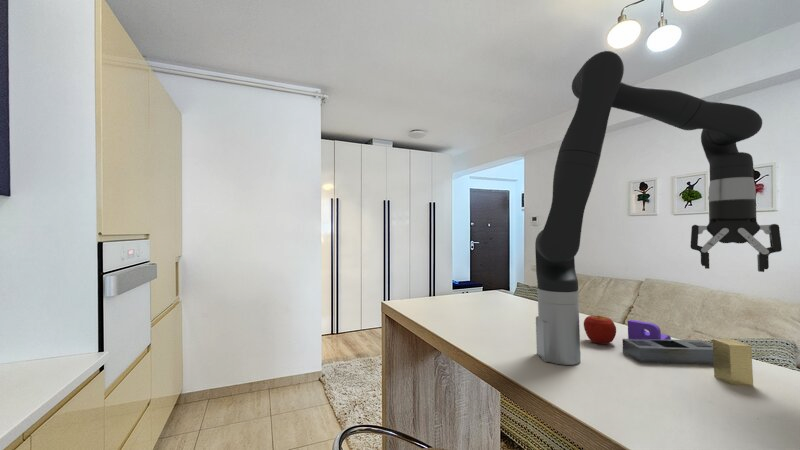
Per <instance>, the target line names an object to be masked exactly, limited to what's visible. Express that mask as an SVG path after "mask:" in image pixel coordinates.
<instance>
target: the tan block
mask: <svg viewBox="0 0 800 450" xmlns="http://www.w3.org/2000/svg"><path fill="white" fill-rule="evenodd" d="M712 345H713V360H714V365H713V374H714V375H713V376H714V377H715V378H717V379H719V380H720V381H723V382H725V383H727V384H728V385H731V386H752V387H753V386H754V373H753V355H752V354H753V353H752V352H753V351H752V345H750V344H748V343H745V342H742V341H738V340H736V339H733V338H732V339H730V338H729V339H728V338H713V339H712Z"/></svg>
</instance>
